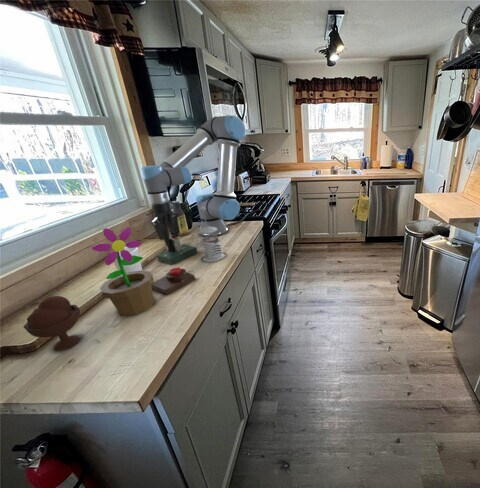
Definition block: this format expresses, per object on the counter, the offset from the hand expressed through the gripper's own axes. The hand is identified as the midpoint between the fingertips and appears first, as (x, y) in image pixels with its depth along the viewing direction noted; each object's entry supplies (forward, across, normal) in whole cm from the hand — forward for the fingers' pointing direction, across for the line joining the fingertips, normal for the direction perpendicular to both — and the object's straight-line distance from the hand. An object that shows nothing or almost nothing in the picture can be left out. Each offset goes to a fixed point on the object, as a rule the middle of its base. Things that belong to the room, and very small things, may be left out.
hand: (174, 250), depth 124 cm
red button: (0, -19, -18) cm, 26 cm away
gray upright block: (+1, 0, 0) cm, 1 cm away
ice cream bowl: (+4, -54, -12) cm, 56 cm away
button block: (+4, -21, -18) cm, 27 cm away
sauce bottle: (+4, +27, +20) cm, 34 cm away
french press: (+4, +3, -18) cm, 19 cm away
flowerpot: (+4, -36, -16) cm, 39 cm away
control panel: (+4, +1, 0) cm, 4 cm away
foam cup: (+4, -21, +2) cm, 22 cm away
